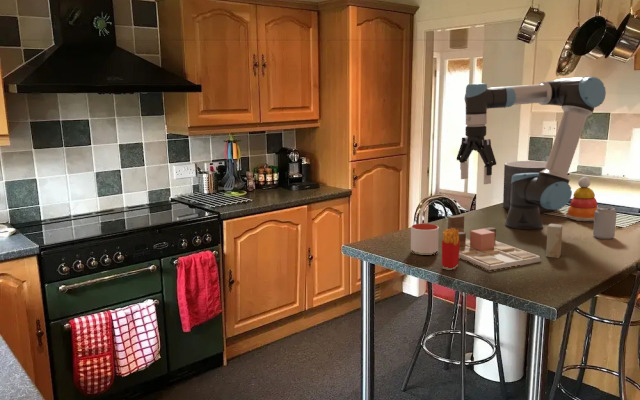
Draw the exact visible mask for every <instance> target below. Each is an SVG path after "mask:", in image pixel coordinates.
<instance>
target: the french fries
mask: <svg viewBox="0 0 640 400" xmlns="http://www.w3.org/2000/svg"><path fill="white" fill-rule="evenodd" d="M450 229H451V230H450ZM450 229H448V228H446V229H444V231H442V232H443V234H442V235H443V237H442V240H441V266H442V265H443V266H444V267H448V268H453V267H455V266H456V265H457V264H458V265H459V263H460V261H459V260H460V258H459V245H460V239H459V230H458V229H457V230H456V229H455V228H453V229H452V228H450Z"/></svg>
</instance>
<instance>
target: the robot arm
mask: <svg viewBox="0 0 640 400" xmlns="http://www.w3.org/2000/svg"><path fill="white" fill-rule="evenodd" d="M606 90H607V89H606V86H605V84H604V82H603V81H602V80H601V79H600V78H598V77H596V76H588V75H587V76H576V77H565V78H559V79H554V80H553V79H552V80H548V81H547V80H546V81H542V82H541V81H540V82H539V83H538V84H527V85H525V84H524V85H512V86H511V85H509V86H496V87H492V86H491V87H488V85H487V83H484V82H483V83H469V84H467V85H466V87H465V95H464V104H465V137H462V138H461V143H460V147H459V150H458V152H457V156H456V161H459V163H460V165H459V166H460V168H459V169H460V180H468V178H469V176H468V174H469V173H468V171H469V170H468V168H469V162H468V159H469V157H470V156H471V154H472V153H473V151H475V152H477V153H479V155H480V157H481V160H482V162H483V163H484V166H483V185H490V184H492V174H493V172H492V171H493V167H494V166H497V160H496V158H495V155H494V151H493V148H492V143H491V142H492V141H491V139H489V138H488V139H485V137H486V136H487V123H488V120H487V119H488V118H487V117H488V116H487V113H488V112H487V111H488V109H503V108H505V109H506V108H510V107H512V106H515V105H529V104H539V105H541V106H546V105H547V106H548V105H549V106H559V107H561V109H562V111H563V115H562V118H561V121H560V123H559V126H558V129H557V132H556V134H555V138H554V142H553V143H552V147H551V150H550V153H549V155H548V159H547V161H546V162H547V164H546V167H545V169H544V170H542V171H540V173H520V174H514V175H513V176H512V180H511V200H510V209H509V210H508V212H507V215H506V217H505V220H504V225H505V226H507V227H509V228H513V229H518V230H538V229H542V227H543V219H542V217H541V213H540V211H539V206H540V207H543V208H546V209H553V210H555V211H557V210H561V208H563V207H566V205H568V204H569V202H570V201H571V199H572V195H573V192H572V191H573V190H572V186H571V185H570V183H569V182H570V181H571V180H570V178H569V176H568V174H569V171H570V168H571V165H572V163H573V162H572V161H573V159H574V156H575V153H576V150H577V148H578V147H577V146H578V145H579V141H580V138H581V136H582V132H583V129H584V127H585V124H586V121H587V118H588V117H590V116H591V115H593V112H594V110H595V108H598V107H600V106H601V105H602V104H603V103H604V101H605V99H606V93H607V92H606Z"/></svg>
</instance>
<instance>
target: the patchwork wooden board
mask: <svg viewBox="0 0 640 400" xmlns="http://www.w3.org/2000/svg"><path fill="white" fill-rule="evenodd" d="M482 229H486V230H489V231H492V232H495V239H494V249H497V250H500V251H503V252H508V251H514V248H513V247H514V246H512V247H510V246H511V245H509V246H507V245H508V244H506V245H504V244H505V243H504V244H502V243H503V242H501V243H499V242H500V241H498V242H496V241H497V239H496V236H497V235H496V234H497V228H496V227H483V228H482ZM466 236H467V233H466V232H465V231H464V232H459V239H460V245H459V253H461V254H464V255H469V254H475V253H476V250H473V249H471V248H468V247H466V238H467V237H466ZM524 251H525V250H524ZM524 251H518V252H512V253H509V254H511V255H513V256H516V257H519V258H521V259H527V258H533V257H535V255H536V254H535V255H533V254H534V253H532V254H530V253H531V252H529V253H527V252H528V251H526V252H524ZM472 258H473V259H475V260H478V261H480V262H483V263H485V264H487V265H496V264H501V263H503V261H501V260H499V259H496V258H494V257H491V256H489V255H486V254H485V255H479V256H474V257H472Z"/></svg>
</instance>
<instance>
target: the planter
mask: <svg viewBox="0 0 640 400" xmlns="http://www.w3.org/2000/svg"><path fill="white" fill-rule="evenodd" d="M546 164H547V161H542V160H538V161H537V160H516V161H515V160H514V161H509V162H508V161H507V162H505V163H504V170H503V171H504V172H503V192H502V193H503V198H502V199H503V201H502V206H503V208H504V209H506V210H508V211H509V209H510V200H511V180H512V176H513V175H514V174H520V173H540V171H542V170H544V169H545V167H546ZM539 211H540V214H545V213H546V214H547V213H551V212H555V211H556V210H553V209H546V208H543V207H540V206H539Z"/></svg>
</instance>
